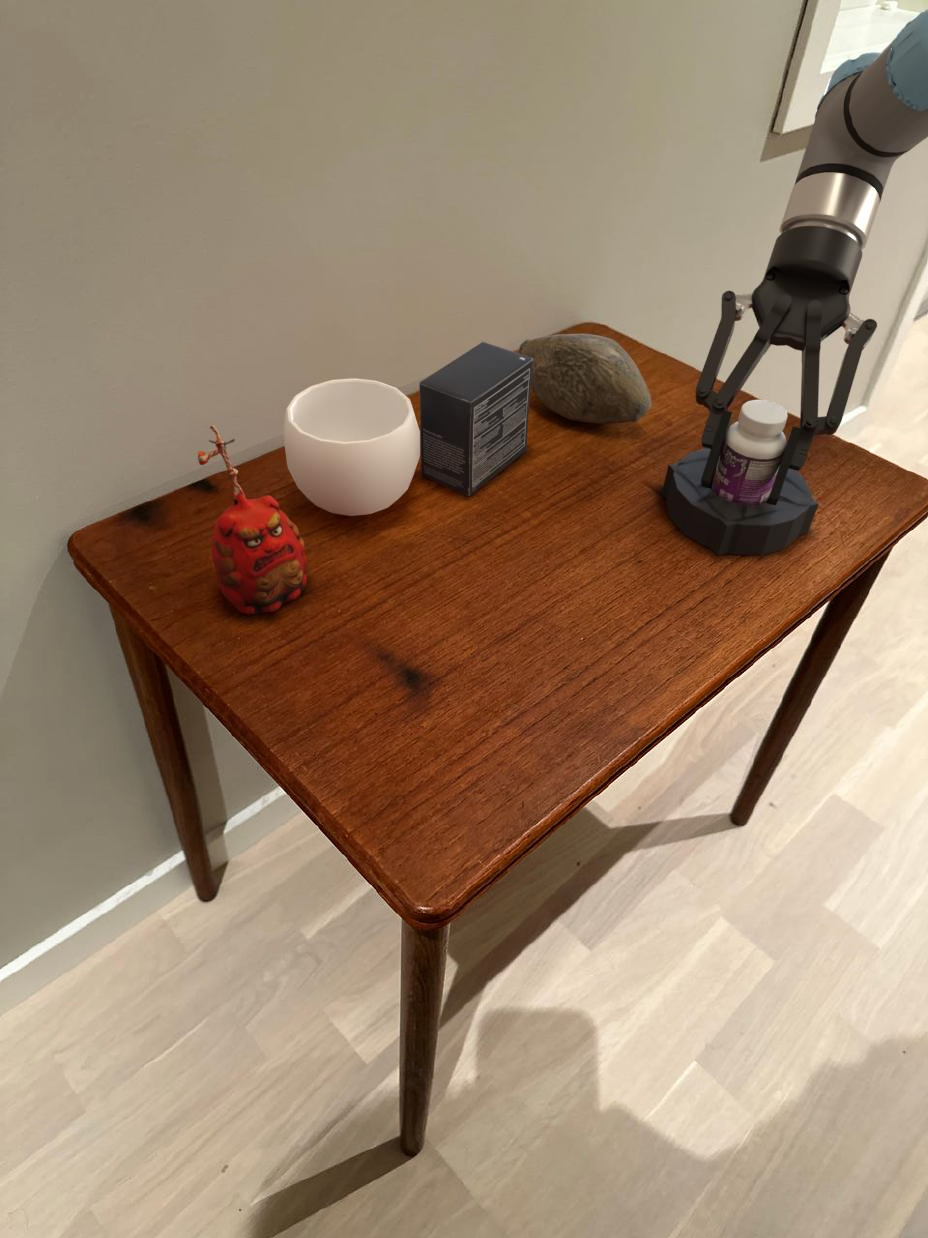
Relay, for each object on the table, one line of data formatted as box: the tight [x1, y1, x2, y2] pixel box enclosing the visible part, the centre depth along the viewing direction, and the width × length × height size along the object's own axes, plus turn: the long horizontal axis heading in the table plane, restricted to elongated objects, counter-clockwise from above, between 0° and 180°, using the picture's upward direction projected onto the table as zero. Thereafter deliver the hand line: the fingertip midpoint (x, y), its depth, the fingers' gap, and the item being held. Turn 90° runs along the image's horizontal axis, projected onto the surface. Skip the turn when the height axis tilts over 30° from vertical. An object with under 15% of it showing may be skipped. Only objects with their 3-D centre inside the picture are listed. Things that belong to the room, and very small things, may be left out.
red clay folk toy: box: [197, 425, 308, 616], centre depth 68 cm, size 8×7×15 cm
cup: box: [282, 377, 421, 517], centre depth 80 cm, size 12×12×10 cm
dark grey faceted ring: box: [661, 448, 820, 556], centre depth 82 cm, size 12×12×4 cm
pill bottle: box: [711, 399, 789, 505], centre depth 79 cm, size 5×5×10 cm
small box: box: [418, 341, 533, 497], centre depth 85 cm, size 11×6×10 cm, turn 144°
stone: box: [518, 333, 652, 425], centre depth 94 cm, size 17×9×8 cm, turn 52°
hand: (738, 492), depth 78 cm, fingers closed on pill bottle, 5 cm apart
